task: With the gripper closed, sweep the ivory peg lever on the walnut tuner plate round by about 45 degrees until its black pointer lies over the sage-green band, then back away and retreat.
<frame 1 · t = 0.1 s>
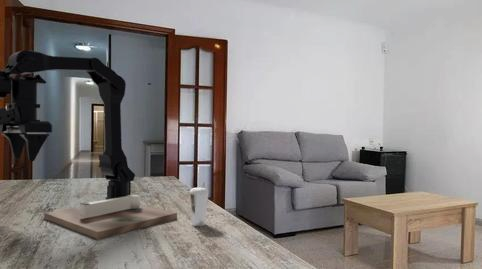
hand: (24, 160, 89), 15 cm above the table, tool pointing down, fingers open, 9 cm apart
peg lever: (112, 205, 88), point 4 cm above the table, hinge at 0.0°
tuner plate: (111, 218, 88), on the table
milkshake: (199, 225, 85), on the table
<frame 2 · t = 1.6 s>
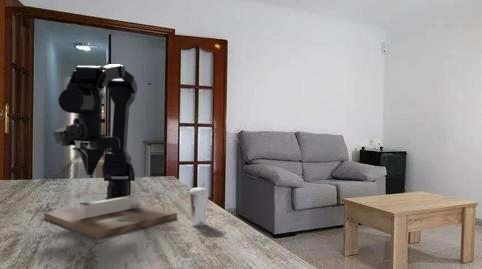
hand: (89, 175, 89), 11 cm above the table, tool pointing down, fingers closed
nothing on the table moved.
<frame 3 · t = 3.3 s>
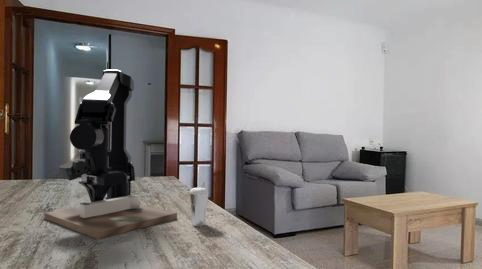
hand: (96, 209, 87), 3 cm above the table, tool pointing down, fingers closed
peg lever: (112, 205, 88), point 4 cm above the table, hinge at 0.0°, touching gripper
everything else where it was.
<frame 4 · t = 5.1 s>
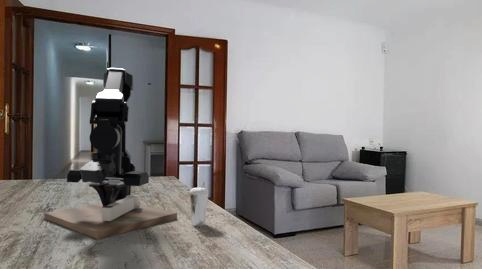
hand: (107, 212, 84), 3 cm above the table, tool pointing down, fingers closed
peg lever: (122, 206, 87), point 4 cm above the table, hinge at 30.3°, touching gripper
everything else where it was.
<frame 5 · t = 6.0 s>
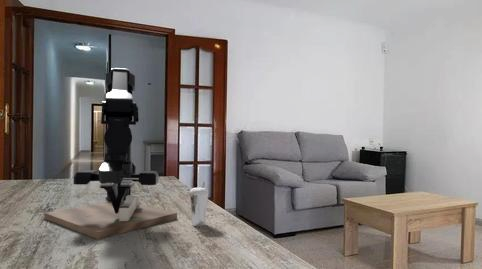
hand: (116, 213, 83), 3 cm above the table, tool pointing down, fingers closed
peg lever: (129, 206, 87), point 4 cm above the table, hinge at 46.8°, touching gripper
everything else where it was.
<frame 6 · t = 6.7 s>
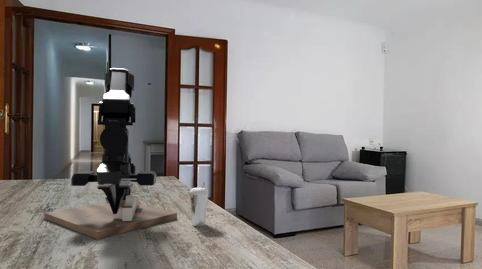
hand: (115, 213, 83), 2 cm above the table, tool pointing down, fingers closed
peg lever: (130, 206, 87), point 4 cm above the table, hinge at 49.6°
everything else where it was.
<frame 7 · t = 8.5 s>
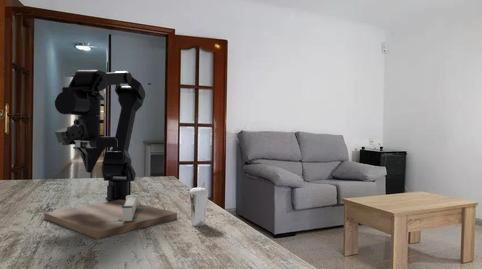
hand: (89, 172, 95), 11 cm above the table, tool pointing down, fingers closed
nothing on the table moved.
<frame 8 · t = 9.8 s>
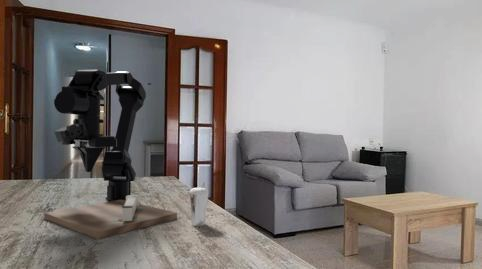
hand: (88, 171, 95), 11 cm above the table, tool pointing down, fingers closed
nothing on the table moved.
at the end: peg lever at +50° (first picture: +0°); milkshake moved 0.2 cm from its start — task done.
